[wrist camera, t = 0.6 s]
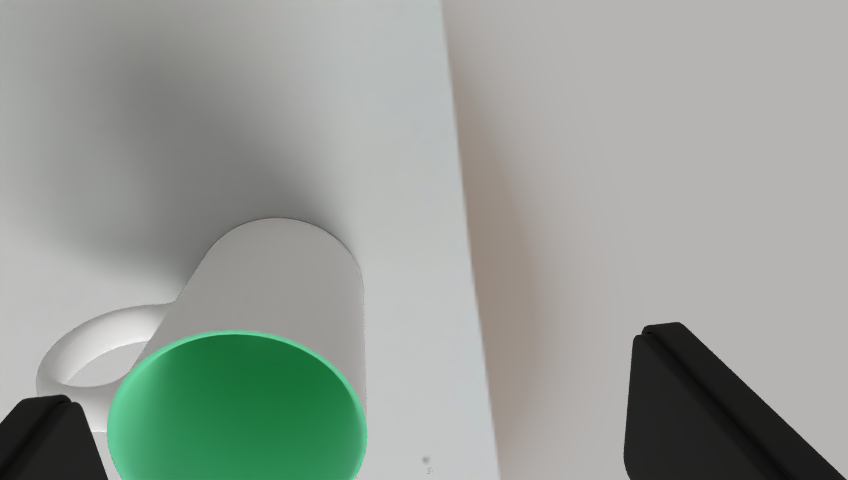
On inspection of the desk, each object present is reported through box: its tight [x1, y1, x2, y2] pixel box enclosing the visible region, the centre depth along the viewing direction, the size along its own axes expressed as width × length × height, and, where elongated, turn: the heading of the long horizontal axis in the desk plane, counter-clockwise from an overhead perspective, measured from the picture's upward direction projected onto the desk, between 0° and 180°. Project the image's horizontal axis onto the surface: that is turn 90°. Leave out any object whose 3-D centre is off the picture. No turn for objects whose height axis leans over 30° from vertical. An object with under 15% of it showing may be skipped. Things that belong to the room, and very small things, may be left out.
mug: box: [36, 218, 367, 480], centre depth 23 cm, size 12×8×10 cm
